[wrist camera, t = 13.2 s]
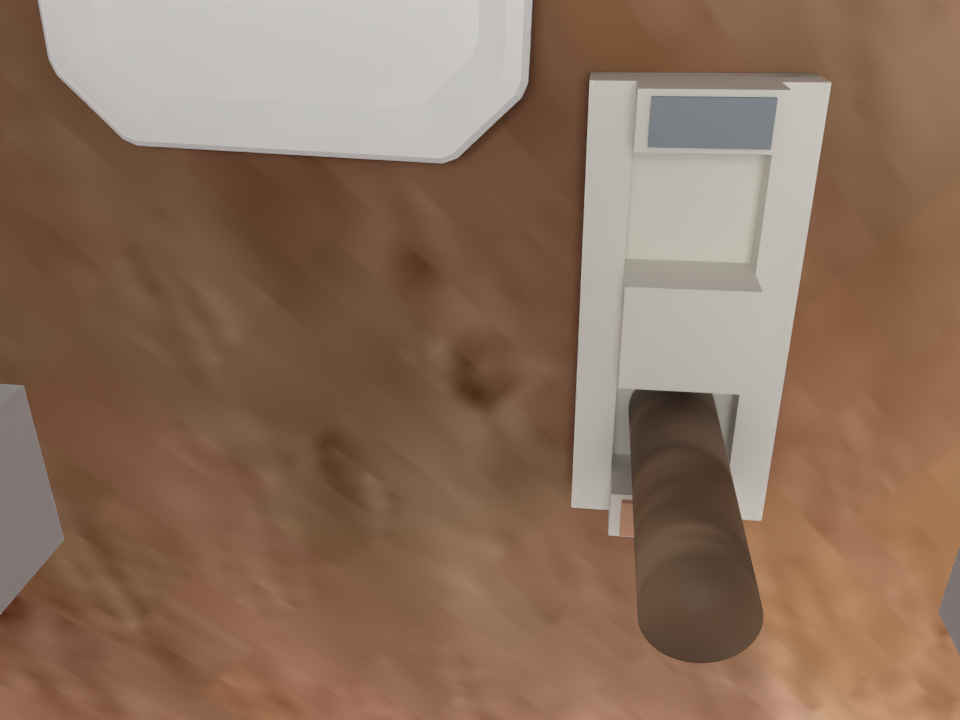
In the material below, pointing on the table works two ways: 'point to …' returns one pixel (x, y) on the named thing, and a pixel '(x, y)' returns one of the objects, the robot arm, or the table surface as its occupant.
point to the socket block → (691, 262)
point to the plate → (295, 72)
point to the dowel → (688, 531)
